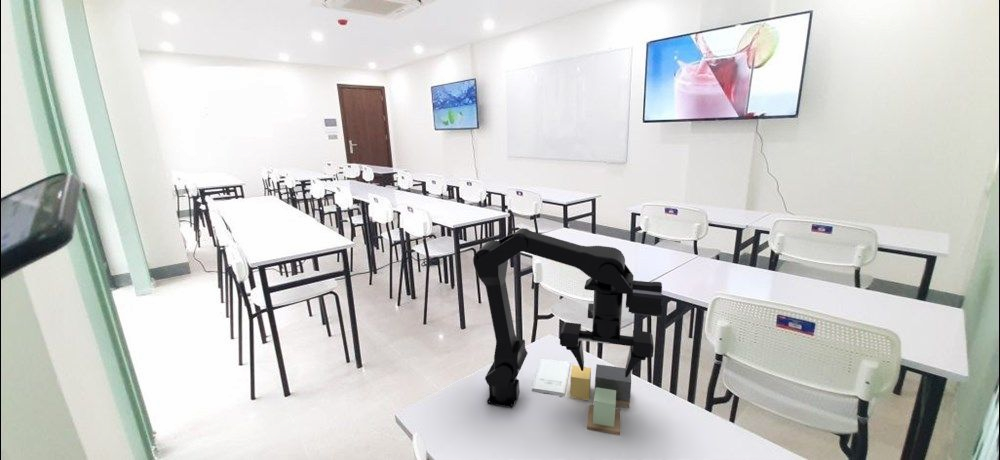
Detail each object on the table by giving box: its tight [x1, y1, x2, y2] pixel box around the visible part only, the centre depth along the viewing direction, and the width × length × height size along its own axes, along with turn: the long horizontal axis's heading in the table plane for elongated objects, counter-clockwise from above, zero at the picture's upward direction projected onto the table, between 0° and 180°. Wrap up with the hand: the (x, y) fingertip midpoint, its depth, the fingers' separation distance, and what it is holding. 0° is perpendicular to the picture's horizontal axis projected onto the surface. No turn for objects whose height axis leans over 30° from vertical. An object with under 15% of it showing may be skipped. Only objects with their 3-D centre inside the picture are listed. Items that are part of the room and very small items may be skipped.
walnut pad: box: [586, 404, 622, 436], centre depth 91 cm, size 7×7×1 cm
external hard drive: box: [531, 358, 571, 397], centre depth 106 cm, size 2×8×12 cm
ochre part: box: [569, 364, 592, 401], centre depth 99 cm, size 4×4×6 cm
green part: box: [593, 387, 617, 427], centre depth 90 cm, size 4×4×6 cm
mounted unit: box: [594, 363, 632, 408], centre depth 97 cm, size 8×5×7 cm, turn 74°
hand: (604, 372), depth 89 cm, fingers open, 9 cm apart
